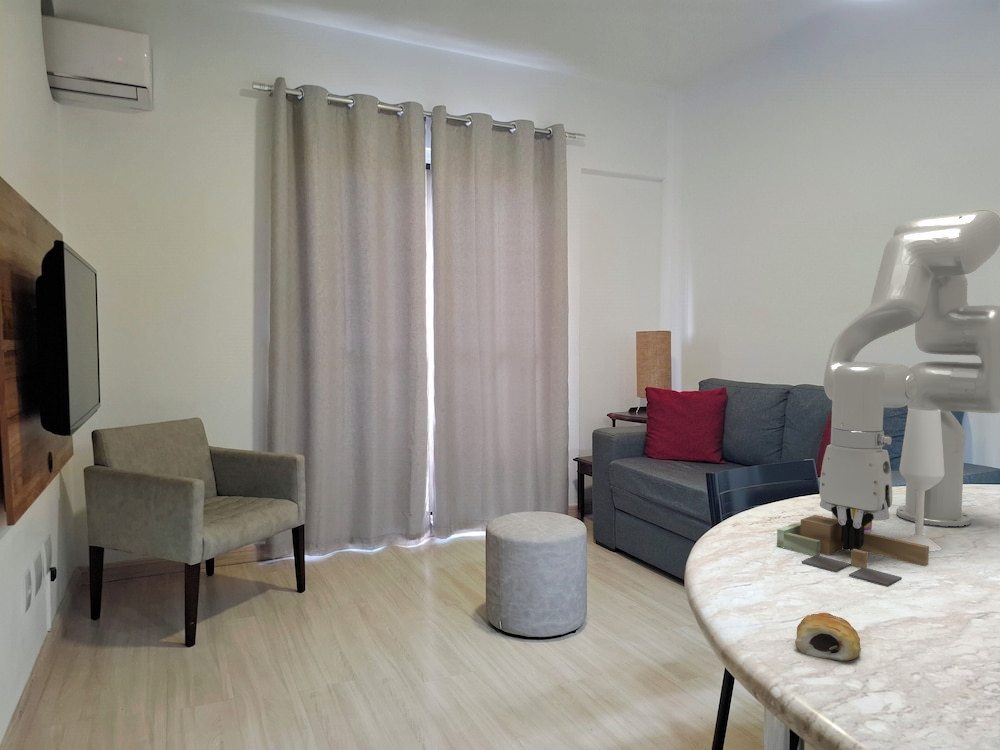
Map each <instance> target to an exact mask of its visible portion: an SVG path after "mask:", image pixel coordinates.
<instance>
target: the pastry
mask: <svg viewBox="0 0 1000 750" xmlns="http://www.w3.org/2000/svg"><path fill="white" fill-rule="evenodd" d="M860 641H861V638H860V636H859V634H858V631H856V629H855V628H854V626H852V625H851V624H850V622H849V621H848V620H847V619H845V618H842V617H839V616H837V615H836V616H835V615H833V614H831V613H829V612H818V613H812V614H807V615H806V616H805V617H804V618H803V619H801V621H800V622H799V623H798V625H797V627H796V639H795V640H794V642H795V646H796V648H797V649H798V651H799V652H800V653H802V654H805V655H807V656H812V657H815V658H823V659H830V660H835V661H840V662H846V661H853V660H854V659H856V658H858V656H859V654H860V653H861V650H862V648H861V642H860Z"/></svg>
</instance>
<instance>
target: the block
mask: <svg viewBox="0 0 1000 750" xmlns="http://www.w3.org/2000/svg"><path fill="white" fill-rule="evenodd" d="M800 521H801V532H800V536H804V537H808V538H812V539H816V540H820V541H821V542H820V555H821V554H822V555H826V556H831V555H834V554H836V553H838V552H840V551H843V550H844V549H843V542H841V529H842V525H840V524H839V522H838V520H837V519H832V517H827V516H823V515H818V514H814V515H810V516H808V517H805V518H801V519H800Z"/></svg>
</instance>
